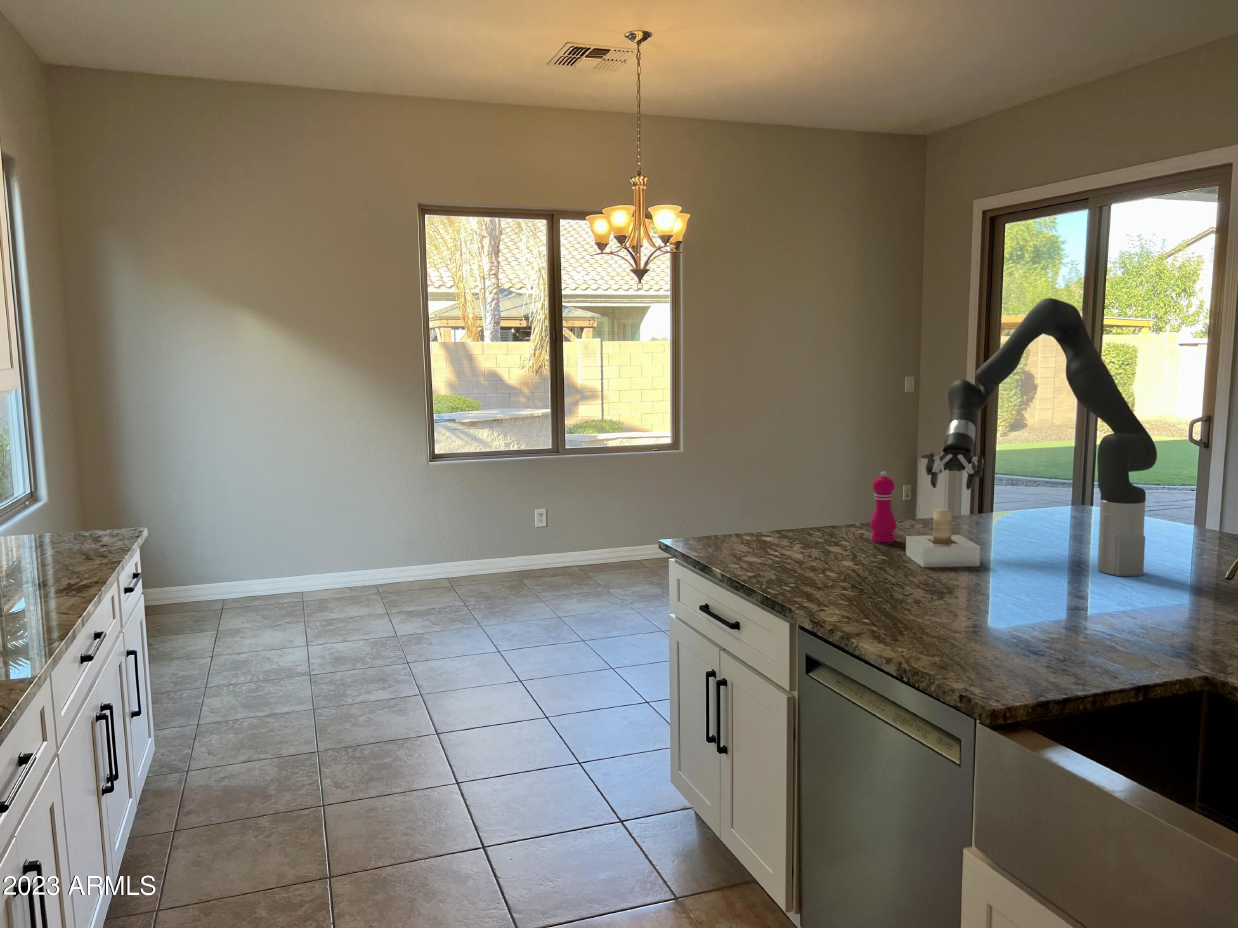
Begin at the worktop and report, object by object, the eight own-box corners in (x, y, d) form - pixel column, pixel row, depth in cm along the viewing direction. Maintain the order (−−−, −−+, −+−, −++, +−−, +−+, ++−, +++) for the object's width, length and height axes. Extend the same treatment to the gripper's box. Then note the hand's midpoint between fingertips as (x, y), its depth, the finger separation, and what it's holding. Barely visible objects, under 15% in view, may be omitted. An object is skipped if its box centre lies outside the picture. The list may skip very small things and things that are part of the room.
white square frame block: (979, 566, 214) (980, 546, 213) (923, 567, 214) (923, 547, 214) (958, 553, 228) (959, 534, 227) (905, 554, 228) (906, 536, 228)
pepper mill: (893, 537, 249) (894, 469, 247) (898, 543, 242) (899, 472, 240) (867, 537, 250) (868, 469, 248) (872, 543, 243) (873, 473, 241)
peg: (953, 561, 219) (954, 511, 217) (935, 562, 219) (936, 512, 218) (947, 557, 223) (948, 508, 222) (930, 558, 224) (931, 509, 222)
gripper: (930, 430, 238) (921, 477, 229) (986, 431, 230) (978, 479, 222) (934, 447, 243) (925, 493, 235) (988, 449, 236) (980, 497, 227)
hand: (950, 487), depth 228 cm, fingers open, 8 cm apart
